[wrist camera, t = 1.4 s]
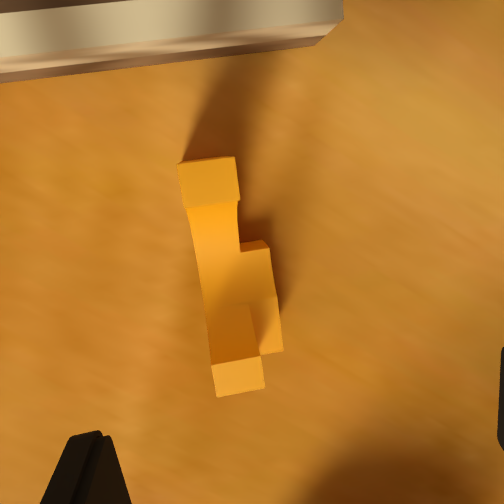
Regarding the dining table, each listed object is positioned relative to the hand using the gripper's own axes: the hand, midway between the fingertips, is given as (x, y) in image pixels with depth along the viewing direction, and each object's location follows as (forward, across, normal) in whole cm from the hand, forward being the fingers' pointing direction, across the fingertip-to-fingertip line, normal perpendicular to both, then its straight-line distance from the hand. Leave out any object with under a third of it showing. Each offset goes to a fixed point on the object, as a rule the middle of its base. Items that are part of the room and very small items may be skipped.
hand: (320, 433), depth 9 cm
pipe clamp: (+17, 0, 0) cm, 17 cm away
